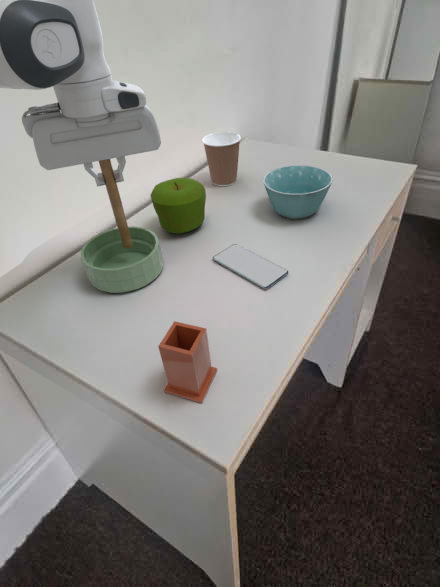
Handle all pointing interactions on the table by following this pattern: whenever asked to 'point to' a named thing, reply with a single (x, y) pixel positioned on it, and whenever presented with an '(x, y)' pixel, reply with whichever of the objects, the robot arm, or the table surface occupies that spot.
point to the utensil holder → (187, 361)
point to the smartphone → (251, 266)
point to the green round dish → (122, 260)
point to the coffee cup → (222, 157)
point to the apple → (179, 204)
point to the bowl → (297, 189)
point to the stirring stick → (116, 202)
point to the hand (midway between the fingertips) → (110, 182)
